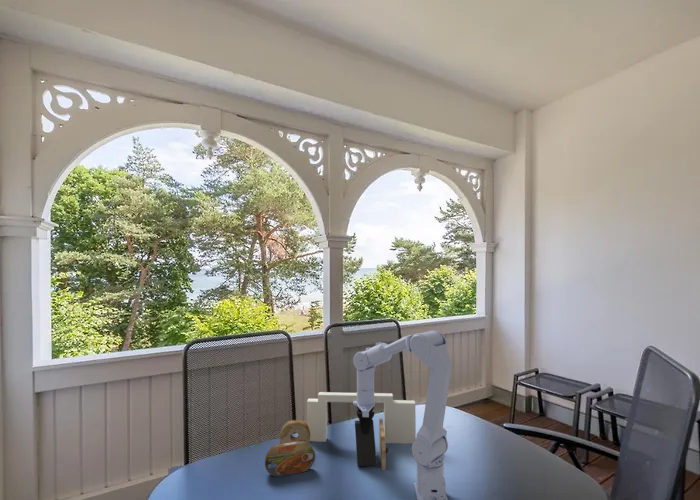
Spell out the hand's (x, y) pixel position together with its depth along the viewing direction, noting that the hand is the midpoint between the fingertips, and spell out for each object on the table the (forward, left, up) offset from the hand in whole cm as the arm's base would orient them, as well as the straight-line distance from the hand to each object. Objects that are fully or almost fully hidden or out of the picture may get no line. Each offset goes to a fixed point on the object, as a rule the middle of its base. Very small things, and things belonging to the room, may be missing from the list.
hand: (365, 431), depth 115 cm
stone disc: (+6, +24, -10) cm, 27 cm away
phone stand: (0, -1, -9) cm, 9 cm away
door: (+4, -6, -9) cm, 12 cm away
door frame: (+14, +2, -9) cm, 17 cm away
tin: (-7, +23, -10) cm, 26 cm away
